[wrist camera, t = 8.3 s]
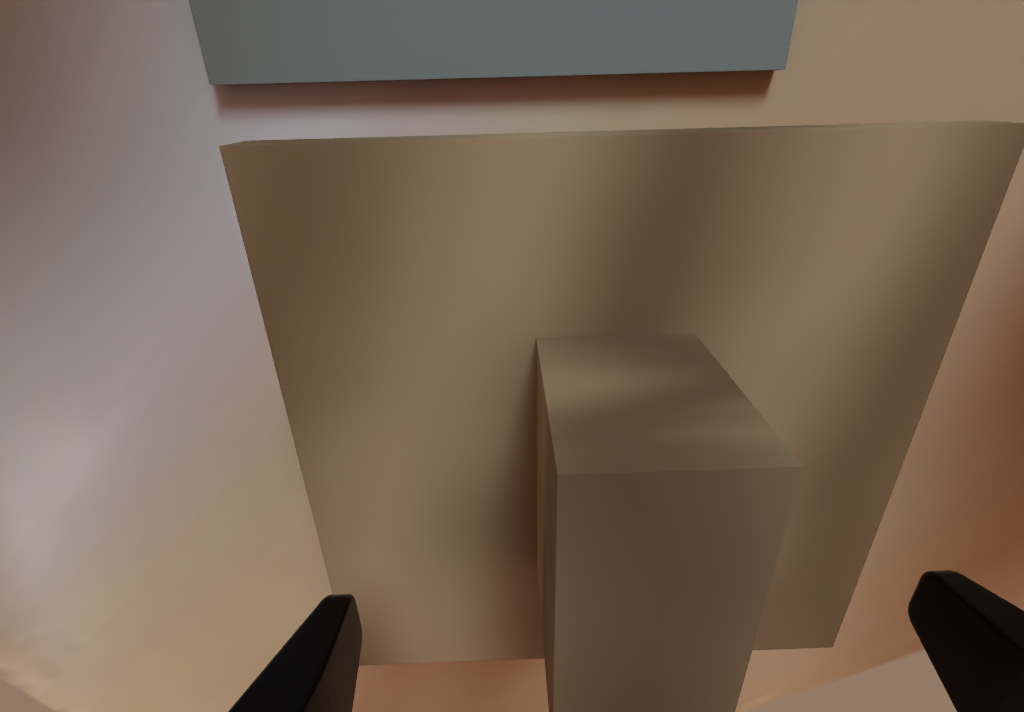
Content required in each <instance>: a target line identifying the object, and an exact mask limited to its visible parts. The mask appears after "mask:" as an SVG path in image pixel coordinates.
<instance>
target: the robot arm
mask: <svg viewBox="0 0 1024 712" xmlns="http://www.w3.org/2000/svg"><path fill="white" fill-rule="evenodd" d="M908 613H909V618H910V621H911V623H912V625H913V627H914V629H915V631H916V633H917V635H918V637H919V639H920V641H921V643H922V645H923V647H924V648H925V650H926V652H927V654H928V656H929V658H930V660H931V662H932V664H933V666H934V668H935V670H936V672H937V674H938V676H939V678H940V680H941V681H942V683H943V685H944V687H945V689H946V691H947V693H948V695H949V697H950V699H951V701H952V703H953V705H954V707H955V708H956V710H957V712H1024V611H1023V610H1021V609H1020V608H1018V607H1016V606H1015V605H1013V604H1011V603H1009V602H1008V601H1006V600H1004V599H1003V598H1001V597H999V596H997V595H996V594H994V593H992V592H991V591H989V590H987V589H986V588H984V587H982V586H980V585H979V584H977V583H975V582H974V581H972V580H970V579H969V578H967V577H965V576H963V575H962V574H960V573H958V572H955V571H949V570H944V571H928V572H926V573H924V574H923V575H922V576H921V578H920V580H919V583H918V585H917V587H916V589H915V592H914V594H913V596H912V598H911V600H910V603H909V606H908ZM361 646H362V626H361V622H360V617H359V613H358V609H357V604H356V600H355V598H354V596H353V595H351V594H336V595H328V596H327V597H325V598H324V599H323V600H322V601H321V602H320V603H319V605H318V606H317V607H316V608H315V609H314V611H313V612H312V613H311V614H310V615H309V616H308V618H307V619H306V620H305V621H304V622H303V624H302V625H301V626H300V627H299V628H298V630H297V631H296V632H295V633H294V634H293V635H292V637H291V638H290V639H289V640H288V641H287V643H286V644H285V645H284V646H283V647H282V649H281V650H280V651H279V652H278V653H277V654H276V656H275V657H274V658H273V659H272V660H271V662H270V663H269V664H268V665H267V666H266V668H265V669H264V670H263V671H262V672H261V673H260V675H259V676H258V677H257V678H256V679H255V681H254V682H253V683H252V684H251V685H250V687H249V688H248V689H247V690H246V691H245V692H244V694H243V695H242V696H241V697H240V698H239V700H238V701H237V702H236V703H235V704H234V706H233V707H232V708H231V709H230V710H229V711H228V712H352V707H353V700H354V693H355V687H356V680H357V673H358V667H359V660H360V653H361Z"/></svg>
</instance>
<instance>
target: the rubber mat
mask: <svg viewBox="0 0 1024 712" xmlns="http://www.w3.org/2000/svg"><path fill="white" fill-rule="evenodd" d="M797 1H798V0H189V2H190V6H191V10H192V14H193V18H194V22H195V26H196V30H197V34H198V38H199V42H200V46H201V50H202V54H203V58H204V62H205V66H206V70H207V74H208V78H209V82H210V85H239V84H276V83H313V82H351V81H388V80H425V79H462V78H500V77H537V76H574V75H611V74H649V73H686V72H723V71H760V70H784V69H785V67H786V61H787V56H788V50H789V45H790V39H791V34H792V28H793V23H794V17H795V12H796V6H797Z"/></svg>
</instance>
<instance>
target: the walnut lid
mask: <svg viewBox="0 0 1024 712" xmlns="http://www.w3.org/2000/svg"><path fill="white" fill-rule="evenodd" d="M219 147H220V151H221V155H222V158H223V162H224V166H225V170H226V174H227V178H228V182H229V186H230V190H231V194H232V198H233V202H234V206H235V210H236V214H237V218H238V222H239V226H240V230H241V234H242V237H243V241H244V245H245V249H246V253H247V257H248V261H249V265H250V269H251V273H252V277H253V281H254V285H255V289H256V293H257V297H258V301H259V305H260V309H261V312H262V316H263V320H264V324H265V328H266V332H267V336H268V340H269V344H270V348H271V352H272V356H273V360H274V364H275V368H276V372H277V376H278V380H279V384H280V388H281V391H282V395H283V399H284V403H285V407H286V411H287V415H288V419H289V423H290V427H291V431H292V435H293V439H294V443H295V447H296V451H297V455H298V459H299V463H300V467H301V470H302V474H303V478H304V482H305V486H306V490H307V494H308V498H309V502H310V506H311V510H312V514H313V518H314V522H315V526H316V530H317V534H318V538H319V542H320V546H321V549H322V553H323V557H324V561H325V565H326V569H327V573H328V577H329V581H330V585H331V589H332V593H333V595H336V594H351V595H353V596H354V598H355V600H356V604H357V609H358V613H359V617H360V622H361V626H362V646H361V653H360V660H359V665H384V664H410V663H436V662H462V661H488V660H514V659H539V658H545V668H546V680H547V692H548V704H549V712H735V710H736V706H737V703H738V699H739V696H740V692H741V688H742V685H743V681H744V678H745V674H746V670H747V667H748V663H749V660H750V656H751V652H752V650H772V649H798V648H824V647H833V645H834V642H835V639H836V637H837V634H838V632H839V629H840V626H841V624H842V621H843V618H844V616H845V613H846V611H847V608H848V605H849V603H850V600H851V597H852V595H853V592H854V590H855V587H856V584H857V582H858V579H859V577H860V574H861V571H862V569H863V566H864V563H865V561H866V558H867V556H868V553H869V550H870V548H871V545H872V542H873V540H874V537H875V535H876V532H877V529H878V527H879V524H880V522H881V519H882V516H883V514H884V511H885V508H886V506H887V503H888V501H889V498H890V495H891V493H892V490H893V487H894V485H895V482H896V480H897V477H898V474H899V472H900V469H901V467H902V464H903V461H904V459H905V456H906V453H907V451H908V448H909V446H910V443H911V440H912V438H913V435H914V432H915V430H916V427H917V425H918V422H919V419H920V417H921V414H922V412H923V409H924V406H925V404H926V401H927V398H928V396H929V393H930V391H931V388H932V385H933V383H934V380H935V377H936V375H937V372H938V370H939V367H940V364H941V362H942V359H943V357H944V354H945V351H946V349H947V346H948V343H949V341H950V338H951V336H952V333H953V330H954V328H955V325H956V322H957V320H958V317H959V315H960V312H961V309H962V307H963V304H964V301H965V299H966V296H967V294H968V291H969V288H970V286H971V283H972V281H973V278H974V275H975V273H976V270H977V267H978V265H979V262H980V260H981V257H982V254H983V252H984V249H985V246H986V244H987V241H988V239H989V236H990V233H991V231H992V228H993V226H994V223H995V220H996V218H997V215H998V212H999V210H1000V207H1001V205H1002V202H1003V199H1004V197H1005V194H1006V191H1007V189H1008V186H1009V184H1010V181H1011V178H1012V176H1013V173H1014V171H1015V168H1016V165H1017V163H1018V160H1019V157H1020V155H1021V152H1022V150H1023V147H1024V123H1011V122H995V121H951V122H915V123H878V124H842V125H806V126H770V127H733V128H697V129H661V130H624V131H588V132H552V133H516V134H479V135H443V136H407V137H370V138H334V139H298V140H262V141H243V142H238V143H233V144H229V145H224V146H219Z"/></svg>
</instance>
